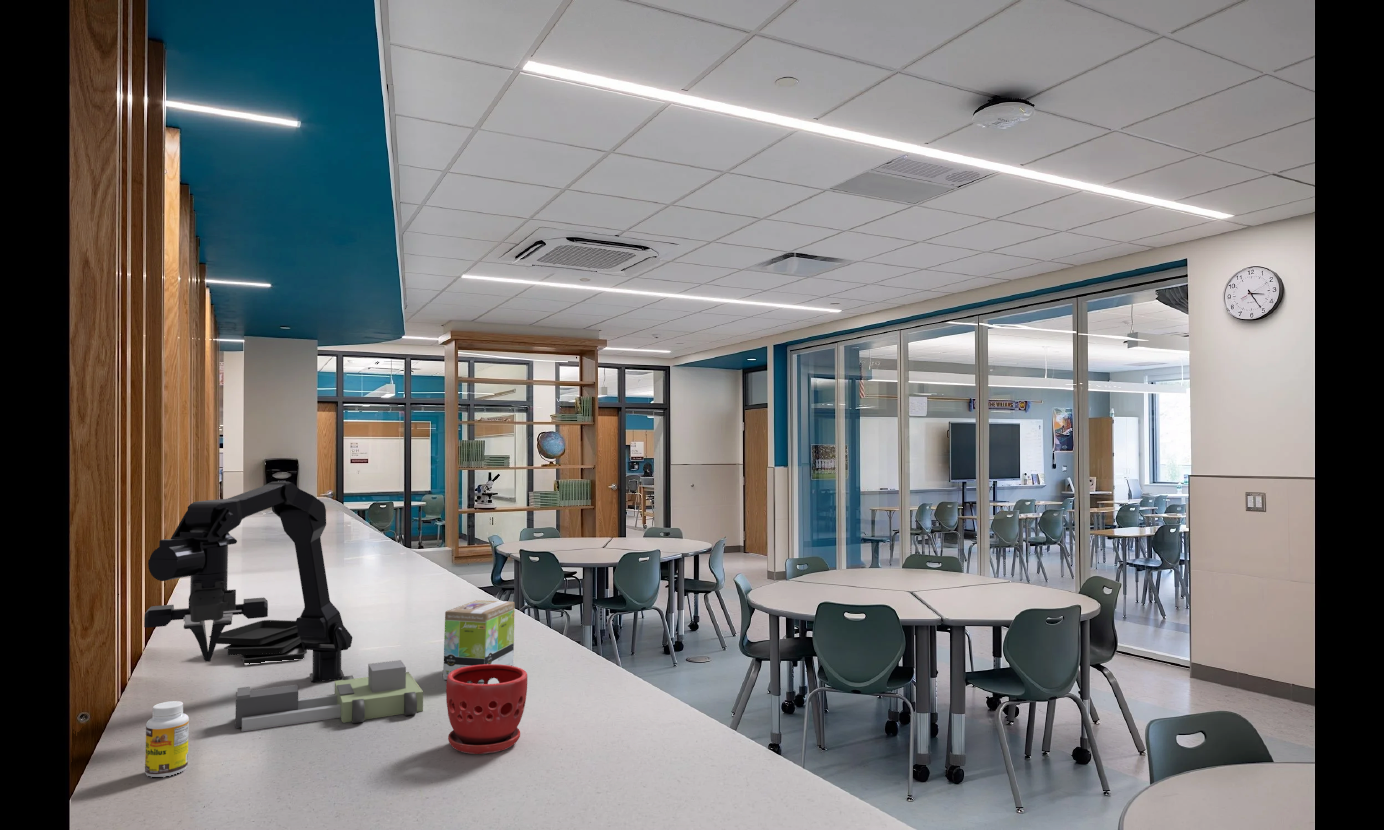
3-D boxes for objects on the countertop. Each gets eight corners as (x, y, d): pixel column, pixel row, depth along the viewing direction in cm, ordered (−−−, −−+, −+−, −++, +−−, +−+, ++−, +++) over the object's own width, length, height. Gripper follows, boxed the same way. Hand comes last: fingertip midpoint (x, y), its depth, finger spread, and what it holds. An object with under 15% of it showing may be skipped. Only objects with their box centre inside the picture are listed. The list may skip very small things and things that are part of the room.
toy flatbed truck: (242, 707, 160) (242, 667, 160) (406, 685, 174) (406, 648, 174) (241, 742, 141) (242, 696, 141) (425, 715, 155) (426, 673, 155)
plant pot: (451, 764, 130) (452, 686, 131) (441, 738, 142) (441, 667, 143) (535, 752, 135) (535, 677, 136) (518, 727, 148) (518, 659, 148)
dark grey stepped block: (235, 719, 152) (236, 687, 153) (296, 710, 157) (296, 680, 157) (235, 728, 147) (235, 696, 148) (298, 719, 152) (298, 688, 152)
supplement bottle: (135, 776, 126) (137, 708, 127) (168, 763, 131) (170, 697, 132) (164, 781, 125) (165, 711, 125) (196, 767, 130) (197, 700, 130)
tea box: (486, 683, 176) (486, 612, 176) (441, 681, 178) (442, 610, 178) (515, 665, 191) (515, 599, 191) (474, 663, 193) (474, 598, 193)
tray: (328, 657, 199) (328, 635, 199) (216, 673, 186) (216, 649, 186) (303, 635, 223) (303, 615, 224) (203, 647, 210) (203, 626, 210)
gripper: (141, 582, 137) (139, 679, 137) (269, 574, 146) (267, 664, 146) (148, 573, 147) (147, 663, 147) (267, 566, 156) (266, 651, 155)
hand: (207, 660), depth 148 cm, fingers closed
